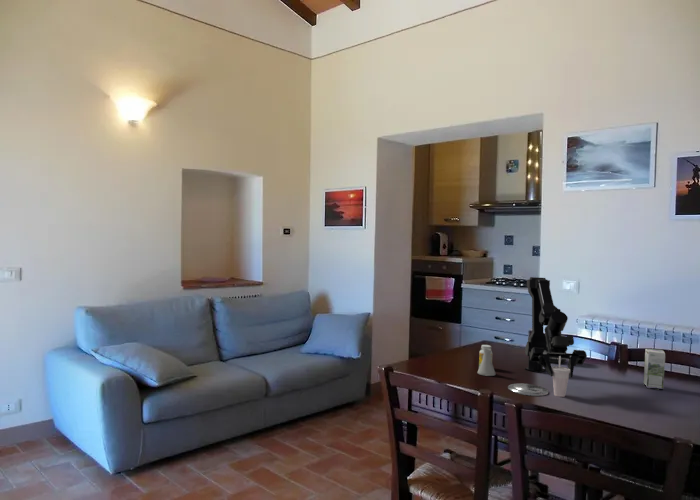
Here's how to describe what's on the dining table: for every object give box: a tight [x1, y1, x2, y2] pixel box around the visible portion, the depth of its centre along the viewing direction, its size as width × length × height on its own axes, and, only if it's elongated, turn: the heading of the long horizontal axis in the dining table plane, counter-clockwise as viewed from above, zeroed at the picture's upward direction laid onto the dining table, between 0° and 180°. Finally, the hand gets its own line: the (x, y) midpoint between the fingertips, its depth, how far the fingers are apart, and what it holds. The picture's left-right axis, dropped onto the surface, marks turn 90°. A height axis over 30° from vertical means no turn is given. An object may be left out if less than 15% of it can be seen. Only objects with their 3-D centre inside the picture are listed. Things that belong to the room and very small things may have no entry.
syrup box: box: [643, 348, 666, 389], centre depth 198 cm, size 6×6×14 cm
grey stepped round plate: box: [507, 383, 549, 397], centre depth 188 cm, size 14×14×1 cm
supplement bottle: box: [478, 344, 493, 368], centre depth 218 cm, size 5×5×10 cm
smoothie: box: [551, 356, 570, 398], centre depth 182 cm, size 6×6×14 cm
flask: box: [476, 349, 496, 377], centre depth 208 cm, size 7×7×10 cm
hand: (561, 376), depth 181 cm, fingers closed on smoothie, 6 cm apart
